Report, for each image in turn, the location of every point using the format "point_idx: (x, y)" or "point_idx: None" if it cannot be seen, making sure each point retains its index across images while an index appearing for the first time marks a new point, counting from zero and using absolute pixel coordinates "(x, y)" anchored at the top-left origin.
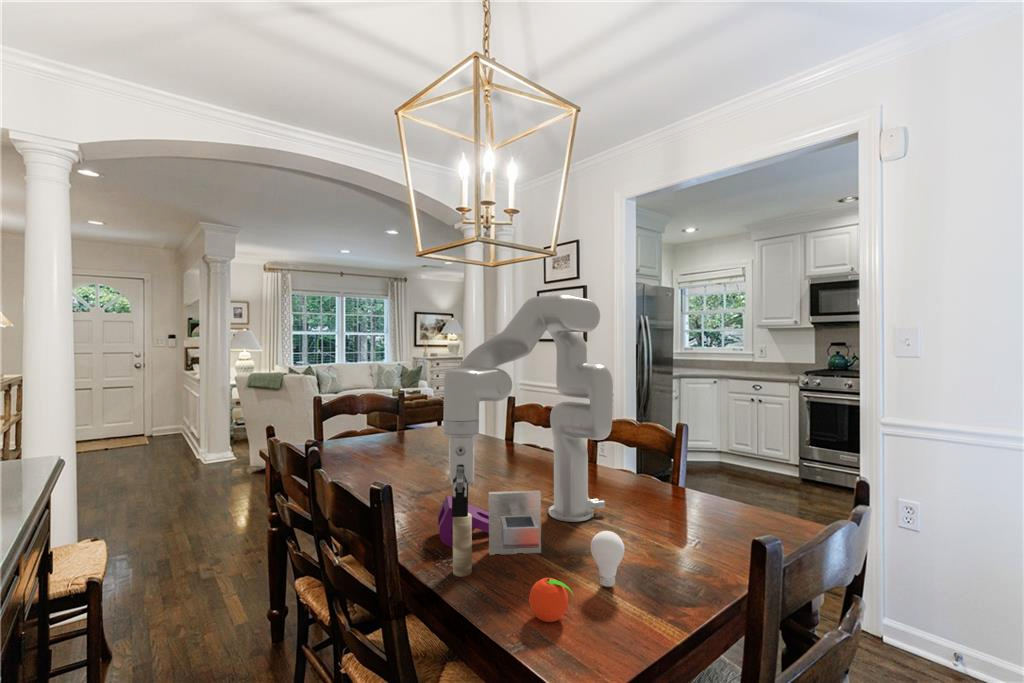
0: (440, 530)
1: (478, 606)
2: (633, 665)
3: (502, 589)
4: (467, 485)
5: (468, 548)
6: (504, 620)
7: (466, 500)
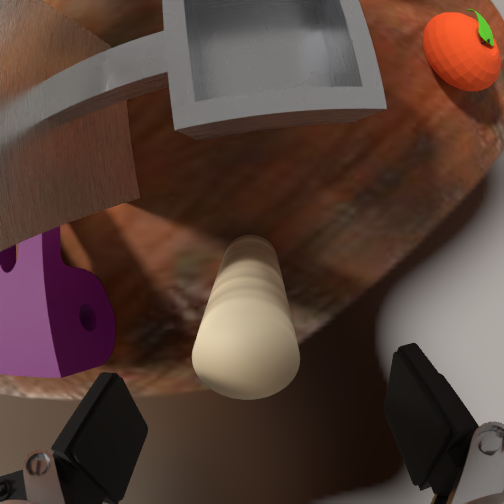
0: (105, 358)
1: (413, 199)
2: (491, 6)
3: (343, 140)
4: (77, 447)
5: (272, 267)
6: (453, 145)
7: (459, 413)
